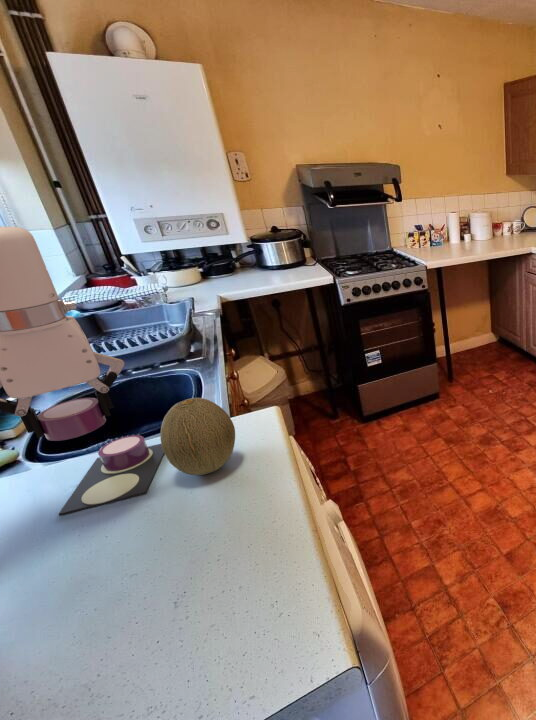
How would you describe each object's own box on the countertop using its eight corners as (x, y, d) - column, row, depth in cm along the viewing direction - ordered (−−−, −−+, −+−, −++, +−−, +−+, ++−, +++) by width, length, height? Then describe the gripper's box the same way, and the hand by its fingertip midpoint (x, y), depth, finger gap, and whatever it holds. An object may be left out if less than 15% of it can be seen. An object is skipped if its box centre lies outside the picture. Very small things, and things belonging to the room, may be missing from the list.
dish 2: (98, 475, 83) (91, 460, 81) (112, 455, 89) (105, 440, 87) (144, 465, 85) (138, 449, 84) (154, 445, 91) (148, 431, 90)
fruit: (255, 450, 90) (236, 386, 84) (218, 488, 79) (194, 417, 74) (201, 450, 90) (179, 386, 85) (158, 488, 80) (130, 417, 74)
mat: (59, 515, 74) (57, 513, 74) (97, 459, 88) (96, 457, 88) (146, 493, 78) (145, 491, 78) (169, 443, 93) (168, 441, 93)
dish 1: (36, 445, 65) (26, 425, 63) (59, 422, 71) (50, 403, 69) (96, 434, 67) (87, 414, 66) (113, 412, 73) (105, 393, 72)
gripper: (103, 298, 70) (139, 395, 77) (-67, 326, 58) (-7, 438, 65) (111, 307, 66) (148, 409, 72) (-73, 340, 54) (-8, 459, 60)
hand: (74, 422), depth 69 cm, fingers closed on dish 1, 7 cm apart
